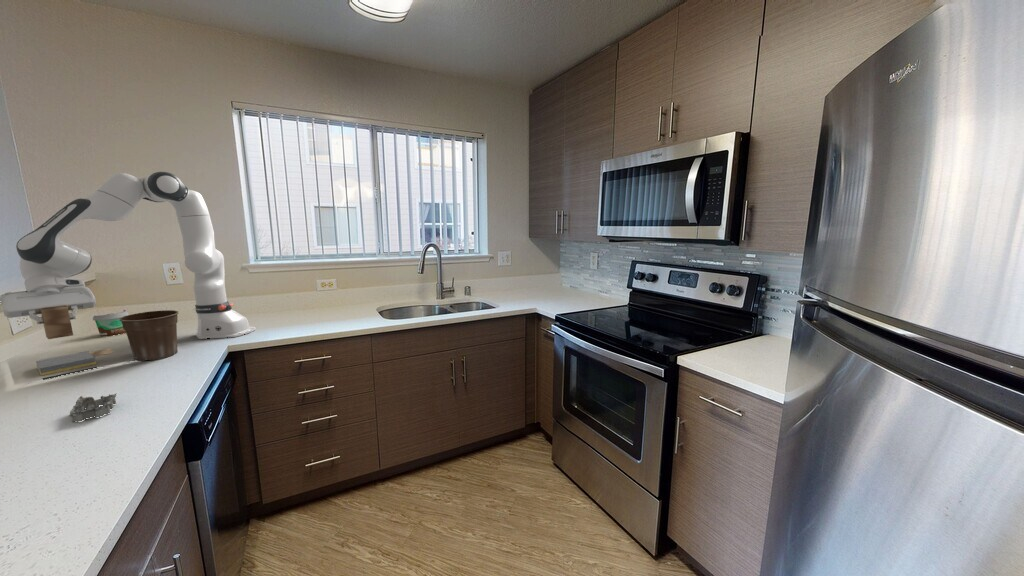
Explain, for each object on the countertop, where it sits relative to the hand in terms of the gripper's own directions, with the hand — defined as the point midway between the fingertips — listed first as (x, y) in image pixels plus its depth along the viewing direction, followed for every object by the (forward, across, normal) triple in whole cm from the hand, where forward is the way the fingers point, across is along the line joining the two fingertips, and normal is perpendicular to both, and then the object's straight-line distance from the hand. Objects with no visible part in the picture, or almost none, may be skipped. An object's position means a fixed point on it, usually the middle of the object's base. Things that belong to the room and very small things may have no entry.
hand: (56, 320), depth 127 cm
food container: (-22, +20, +48) cm, 56 cm away
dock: (+12, 0, +13) cm, 18 cm away
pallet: (+5, +9, +20) cm, 23 cm away
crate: (+3, 0, +4) cm, 5 cm away
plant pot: (+17, +22, +8) cm, 29 cm away
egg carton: (+50, 0, -24) cm, 55 cm away
